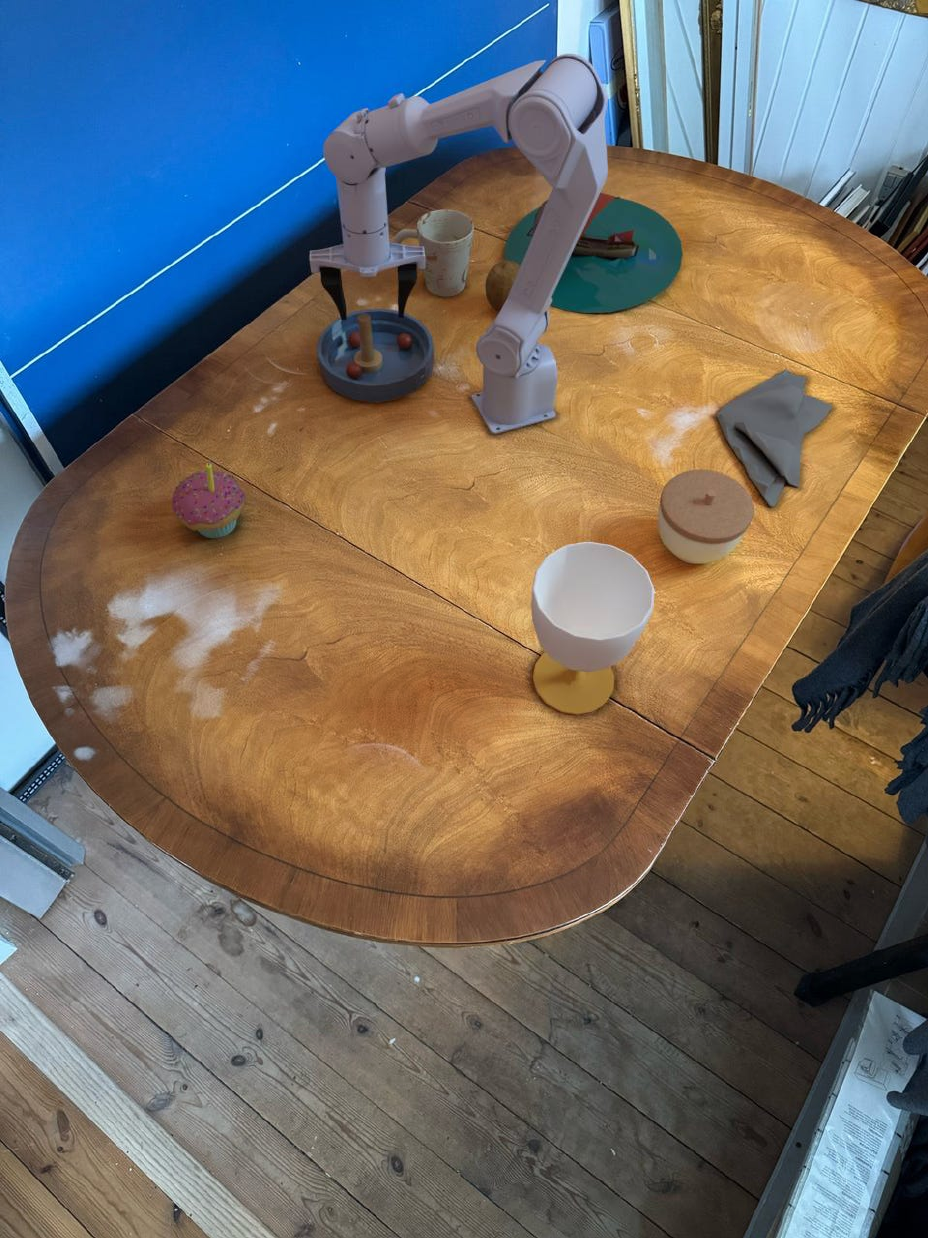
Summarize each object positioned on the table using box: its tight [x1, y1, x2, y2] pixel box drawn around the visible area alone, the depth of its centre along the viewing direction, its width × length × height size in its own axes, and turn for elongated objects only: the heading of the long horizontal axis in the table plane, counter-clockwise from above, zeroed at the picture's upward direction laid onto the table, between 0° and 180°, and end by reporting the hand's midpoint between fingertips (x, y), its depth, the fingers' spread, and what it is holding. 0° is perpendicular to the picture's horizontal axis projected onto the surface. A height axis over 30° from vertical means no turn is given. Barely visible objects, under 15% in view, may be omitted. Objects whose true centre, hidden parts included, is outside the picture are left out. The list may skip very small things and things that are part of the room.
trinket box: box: [657, 468, 755, 565], centre depth 106 cm, size 11×11×9 cm
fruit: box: [485, 260, 520, 313], centre depth 131 cm, size 6×6×8 cm
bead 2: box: [346, 363, 362, 379], centre depth 124 cm, size 2×2×2 cm
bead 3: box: [397, 333, 412, 349], centre depth 128 cm, size 2×2×2 cm
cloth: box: [716, 368, 833, 508], centre depth 120 cm, size 26×14×2 cm, turn 151°
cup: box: [530, 541, 656, 715], centre depth 92 cm, size 12×12×17 cm
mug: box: [391, 209, 475, 298], centre depth 134 cm, size 8×13×10 cm, turn 78°
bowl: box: [316, 308, 435, 403], centre depth 126 cm, size 16×16×4 cm
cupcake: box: [171, 459, 246, 539], centre depth 106 cm, size 9×8×12 cm
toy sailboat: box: [504, 191, 683, 314], centre depth 138 cm, size 28×28×11 cm
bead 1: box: [348, 332, 360, 348], centre depth 128 cm, size 2×2×2 cm
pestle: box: [354, 313, 383, 374], centre depth 123 cm, size 4×4×8 cm
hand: (372, 314), depth 120 cm, fingers open, 7 cm apart
